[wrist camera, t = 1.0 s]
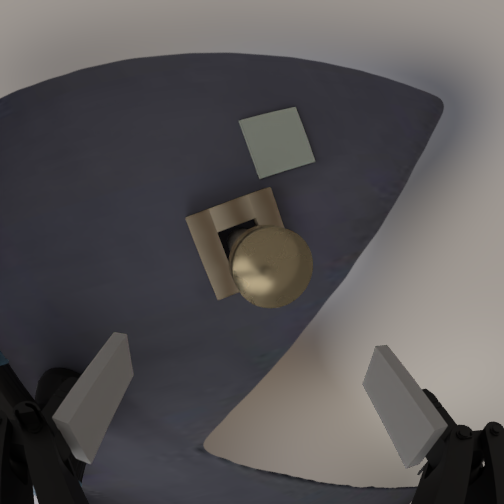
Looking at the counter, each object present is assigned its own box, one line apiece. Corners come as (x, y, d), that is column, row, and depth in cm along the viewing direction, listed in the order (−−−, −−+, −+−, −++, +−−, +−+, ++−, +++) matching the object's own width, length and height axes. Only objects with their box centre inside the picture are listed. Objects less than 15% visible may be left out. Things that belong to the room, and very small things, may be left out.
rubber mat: (259, 179, 39) (260, 178, 38) (238, 121, 37) (239, 120, 36) (313, 162, 40) (315, 161, 40) (294, 108, 38) (295, 106, 37)
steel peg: (226, 273, 40) (249, 320, 24) (208, 227, 39) (220, 245, 22) (270, 255, 41) (321, 289, 25) (255, 210, 40) (299, 215, 23)
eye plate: (216, 294, 40) (218, 300, 38) (185, 217, 38) (185, 218, 35) (291, 264, 42) (296, 268, 40) (265, 187, 39) (270, 187, 37)
